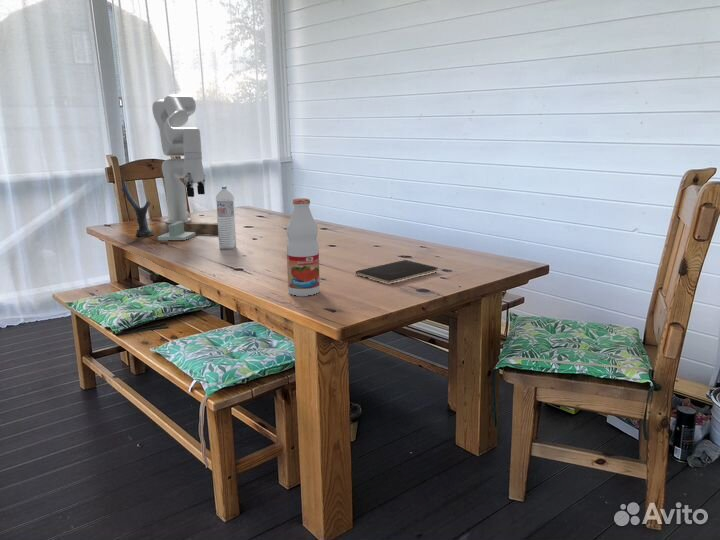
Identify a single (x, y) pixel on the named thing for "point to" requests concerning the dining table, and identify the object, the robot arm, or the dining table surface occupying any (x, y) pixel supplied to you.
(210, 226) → the walnut bar
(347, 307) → the dining table surface
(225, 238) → the water bottle
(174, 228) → the block
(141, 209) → the antler
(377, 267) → the hardcover book
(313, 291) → the fruit juice
